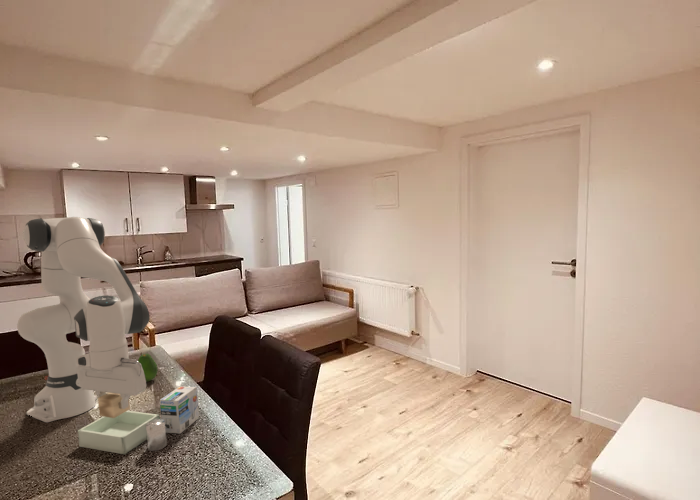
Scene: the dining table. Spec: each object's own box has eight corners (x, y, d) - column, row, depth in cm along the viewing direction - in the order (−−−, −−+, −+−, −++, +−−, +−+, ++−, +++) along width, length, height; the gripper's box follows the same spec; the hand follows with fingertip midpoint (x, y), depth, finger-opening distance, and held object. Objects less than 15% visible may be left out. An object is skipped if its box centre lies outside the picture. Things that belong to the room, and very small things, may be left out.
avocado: (133, 384, 166) (130, 355, 165) (149, 376, 173) (146, 349, 172) (147, 386, 163) (144, 357, 162) (162, 378, 170) (160, 351, 169)
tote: (79, 446, 120) (77, 430, 120) (118, 423, 133) (116, 409, 133) (124, 454, 115) (123, 437, 114) (160, 429, 128) (159, 414, 127)
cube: (99, 415, 107) (98, 397, 106) (116, 407, 112) (114, 389, 111) (114, 418, 105) (112, 399, 105) (129, 409, 110) (128, 391, 110)
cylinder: (144, 449, 117) (141, 426, 116) (157, 440, 121) (155, 418, 121) (157, 452, 115) (155, 428, 114) (170, 442, 120) (168, 420, 119)
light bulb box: (180, 434, 124) (177, 400, 123) (161, 433, 126) (158, 399, 125) (200, 417, 135) (197, 386, 134) (182, 416, 136) (179, 385, 135)
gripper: (149, 355, 107) (154, 405, 108) (92, 350, 113) (97, 397, 114) (130, 364, 101) (135, 416, 102) (70, 358, 107) (76, 408, 108)
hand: (114, 406), depth 108 cm, fingers closed on cube, 5 cm apart
